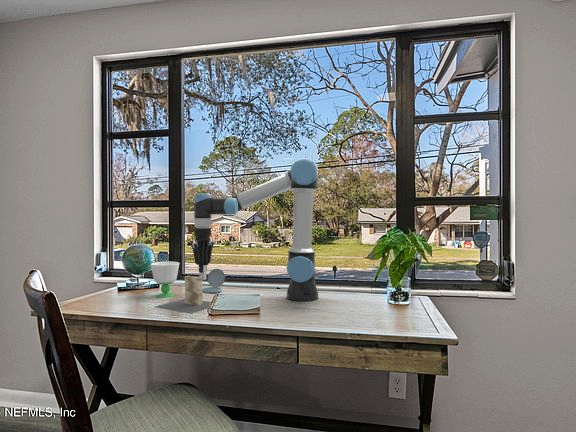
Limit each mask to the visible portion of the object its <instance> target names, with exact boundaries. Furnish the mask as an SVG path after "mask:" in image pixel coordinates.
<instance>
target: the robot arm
mask: <svg viewBox="0 0 576 432" xmlns="http://www.w3.org/2000/svg"><path fill="white" fill-rule="evenodd" d="M318 177H319V168H318V165H317V164H316V162H315V161H314V160H313V159H311V158H308V157H307V158H306V157H304V158H298V159H297V160H295V161H294V162H293V163H292V165H291V166H290V169H289V170H286V171H285V173H284V174H282V175H280V176H278V177H275V178H273V179H270V180H269V181H266V182H264V183H261V184H259V185H257V186H254V187H252V188H250V189H247V190H245V191H243V192H240V193H238V194H236V195H233V196H231V197H212V195H211V193H196V194H195V195H194V201H193V211H194V212H193V214H194V215H193V216H194V217H193V219H194V220H193V221H194V223H193V225H194V227H195V228H194V229H193V230H194V233H193V235H194V236H195V240H194V242H193V243H191V244H190V247H191V248H192V253H193V258H194V263H195V265H196V266H198V273H199V277H202V281H205V280H207V270H208V267H207V266H209V264H210V263H211V258H212V253H213V247H214V244H215V242H214V241H211V236H212V228H211V227H212V215H222V216H223V215H227V216H228V215H229V216H233V215H236V214H238V212H241V211H242V210H244V209H247V208H249V207H251V206H253V205H254V206H255V205H257V204H258V203H261V202H264V201H265V200H268V199H270V198H273V197H275V196H277V195H280V194H282V193H285V192H286V191H289V190H291V191H292V192H293V211H292V212H293V216H292V218H293V219H292V238H291V239H292V242H291V243H292V245H291V247H290V248H289V249H288V253H287V254H288V257H287V260H288V261H287V265H286V271H287V274H288V277H289V278H290V280H289V284H288V288H287V291H286V298H287V299H288V300H291V301H298V302H310V301H315V300H318V299H319V290H318V289H317V287H318V286H317V285H316V281H315V279H316V276H315V275H316V274H315V273H316V272H315V269H316V267H315V266H316V265H315V263H316V262H315V261H316V259H315V258H316V255H315V254H316V253H315V252H316V251H315V250H314V249H313V247H312V237H313V220H314V219H313V214H314V194H315V193H316V192H317V191H318Z"/></svg>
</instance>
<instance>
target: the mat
mask: <svg viewBox="0 0 576 432" xmlns="http://www.w3.org/2000/svg"><path fill="white" fill-rule="evenodd" d="M211 302H212V301H207V300H202V305H199V306H198V305H192V304H186V303H185V298H182V299H179V300H174V301H170V302H167V303H163V304H159V305H156V306H154V308H156V309H162V310H163V309H164V310H168V311H174V312H179V313H186V314H192V315H193V314H195V313H198V312H201V311H204V310H208V309H210V308H209V305H210V303H211Z"/></svg>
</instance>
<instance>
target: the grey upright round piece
mask: <svg viewBox="0 0 576 432" xmlns="http://www.w3.org/2000/svg"><path fill="white" fill-rule="evenodd" d="M207 274H208V275H207V282H208V284H209V287H208V286H207V287H202V294H209V295H211V294H219V293H221V292H222V289H221V286H222V285H224V283H225V281H226V276H225V272H224V271H223V270H222V269H220V268H214V269H212V270H210V271H209V273H207Z"/></svg>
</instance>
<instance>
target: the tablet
mask: <svg viewBox="0 0 576 432" xmlns="http://www.w3.org/2000/svg"><path fill="white" fill-rule="evenodd" d="M202 289H203V280H202V277H200V276H194V275H187V276H186V275H185V276H184V299H185V303H186V304H192V305H198V306H199V305H202V301H203V292H202Z"/></svg>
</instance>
